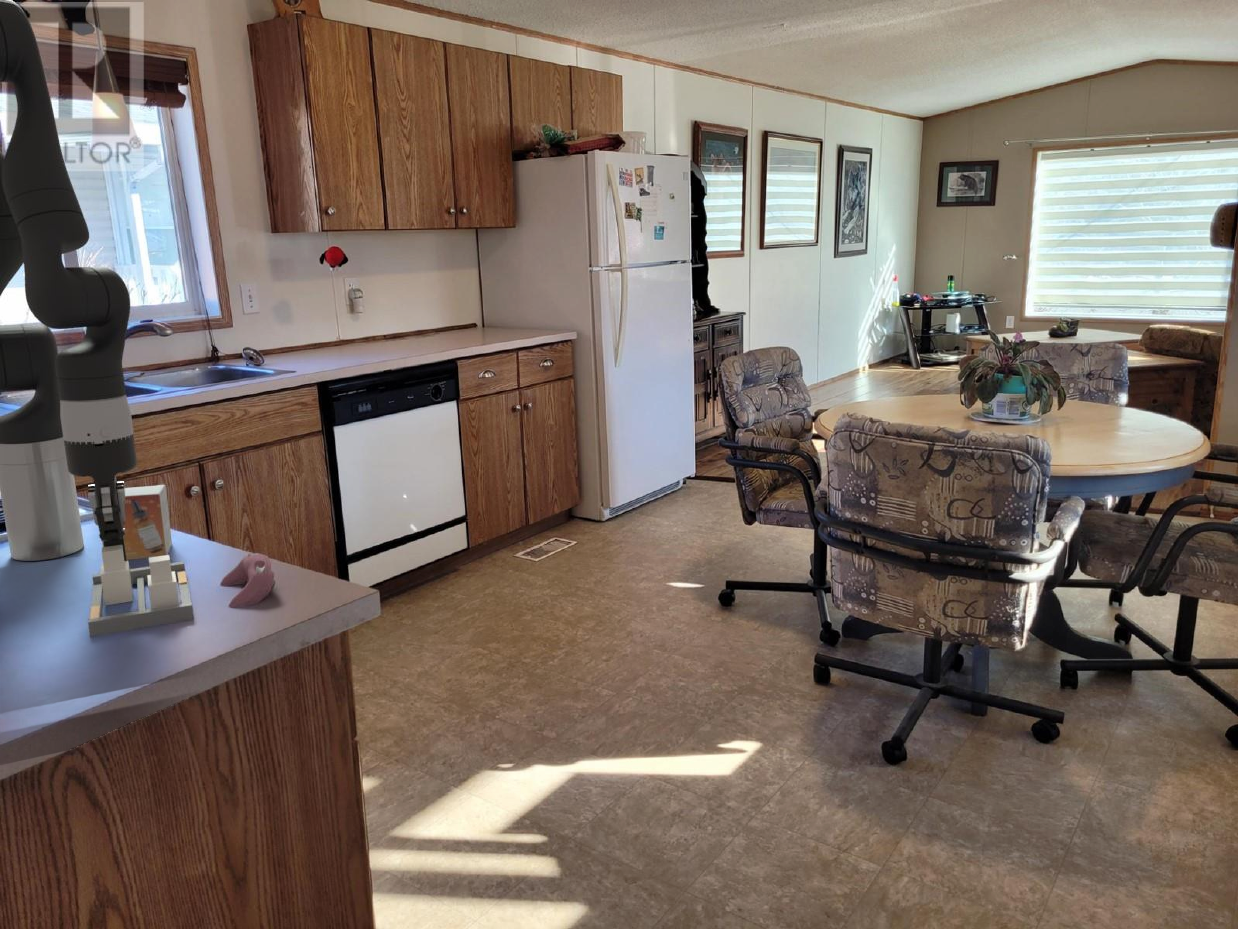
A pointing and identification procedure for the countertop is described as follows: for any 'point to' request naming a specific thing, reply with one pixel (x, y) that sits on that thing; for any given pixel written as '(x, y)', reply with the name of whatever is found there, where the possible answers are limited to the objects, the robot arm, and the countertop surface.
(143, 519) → the small box
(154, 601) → the tab
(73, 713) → the countertop surface
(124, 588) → the tab
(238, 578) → the video game controller
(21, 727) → the countertop surface
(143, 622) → the switch bank
